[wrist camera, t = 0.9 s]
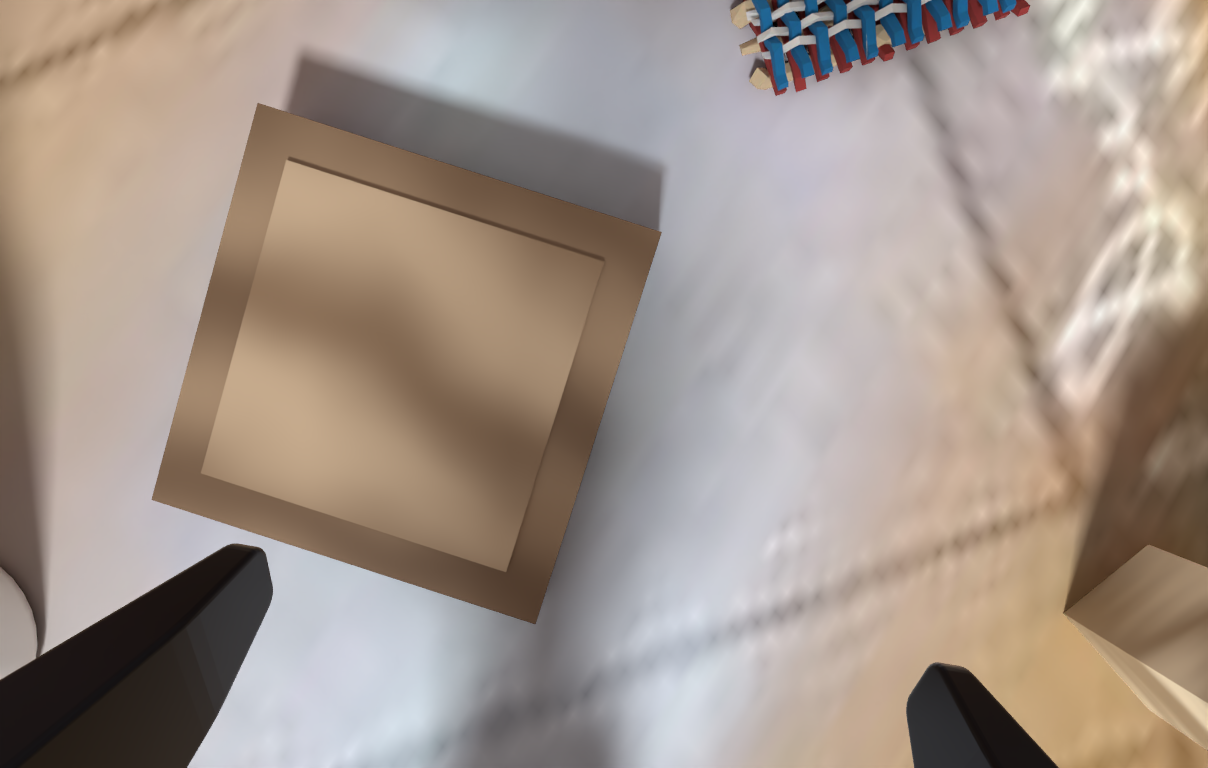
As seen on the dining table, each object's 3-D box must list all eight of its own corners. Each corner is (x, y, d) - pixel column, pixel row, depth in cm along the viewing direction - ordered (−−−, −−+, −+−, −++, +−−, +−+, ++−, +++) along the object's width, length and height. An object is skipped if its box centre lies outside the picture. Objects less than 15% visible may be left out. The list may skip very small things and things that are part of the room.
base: (544, 595, 24) (534, 626, 22) (199, 483, 24) (148, 500, 22) (657, 243, 23) (661, 231, 21) (296, 128, 23) (255, 101, 21)
